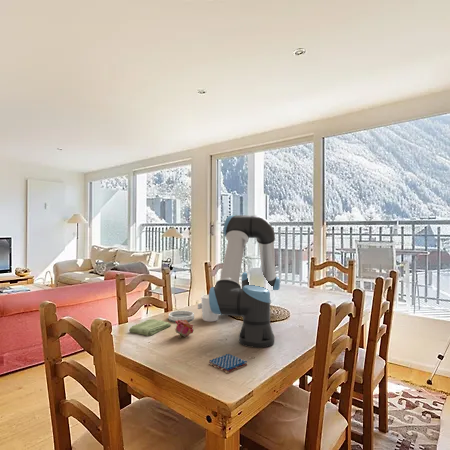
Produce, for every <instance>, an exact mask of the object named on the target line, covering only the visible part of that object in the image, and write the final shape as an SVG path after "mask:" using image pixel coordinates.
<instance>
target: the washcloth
mask: <svg viewBox="0 0 450 450" xmlns="http://www.w3.org/2000/svg"><path fill="white" fill-rule="evenodd" d="M170 326H172V324H171V323H170V322H168V321H164V320H161V319H159V320H157V319H155V318H151V319H146V320H145V321H142V322H140V323H138V324H137V323H136V324H135V325H132V326H131V327H130V328H129V333H133V334H136V335H137V334H138V335H143V336H147V337H149V336H153V335H155V334H157V333H159V332H162V331H163V330H165V329H166V328H170Z"/></svg>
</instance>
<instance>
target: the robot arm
mask: <svg viewBox="0 0 450 450" xmlns="http://www.w3.org/2000/svg"><path fill="white" fill-rule="evenodd" d="M223 235H224V237H225V238H226V240H227V244H226V249H225V254H224V260H223V263H222V268H221V269H222V270H221V273H220V279H218V280H217V281H216V282H215V285H214V286H211V287H210V288H209V292H208V295H209V304H210V307H209V313H212V312H213V313H214V314H219V315H220V316H235V317H242V325H241V328H240V331H239V334H238V342H239V344H241V345H243V346H245V347H248V348H257V349H258V348H268V347H271V346H273V345H274V344H275V335H274V332H273V329H272V325H271V302H272V300H271V292H270V290H268V289H266V288H264V287H260V286H255V285H249V282H248V278H247V273H246V272H247V271H244V272H242V273H241V270H242V263H243V257H244V251H245V246H246V244H247V243H248V242H249V239H256V242H257V243H258V247H259V257H260V265H261V273H262V272H263V275H264V277H265V278H266V280H267V281H268V283H269V284H270V285H271V286H273V290H272V291H280V288H281V279H280V277H279V276H277V274H276V273H277V272H276V261H275V260H276V259H275V246H274V243H275V240H276V237H275V236H276V235H275V230H274V228H273V227H272V224H271V223H270V222H269V221H268V220H267V219H266V218H265V217H263V216H262V215H258V214H254V215H252V214H251V215H249V214H248V215H247V214H239V215H238V214H234V215H228V216H227V217H226V218H225V220H224V223H223ZM240 276H241V284H240V283H239V282H240ZM197 309H198V310H202V302H201V303H197Z"/></svg>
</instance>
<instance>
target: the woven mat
mask: <svg viewBox="0 0 450 450" xmlns="http://www.w3.org/2000/svg"><path fill="white" fill-rule="evenodd" d="M208 364H210V365H209V366H211V367H212V365H213V366H214V368H215V367H216V369H218V368H219V370H220V369H221V370H220V371H222V372H224V371H225V373H226V374H228V373H231V372H233V371H235V370H238V369H240V368H243V367H245V366H247V365H248V361H246V360H245V359H242V358H240V357H237V356H236V355H234V354H230V353H228V354H227V353H226V354H225V355H224V354H223V355H220V356H219V357H216V358H212V359H209V361H208Z"/></svg>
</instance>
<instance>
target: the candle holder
mask: <svg viewBox="0 0 450 450" xmlns="http://www.w3.org/2000/svg"><path fill="white" fill-rule="evenodd" d="M200 296H201V297H200V298H201V299H200V300H201V303H202V309H201V313H202V314H201V316H202V320H203V321H204V322H216V321H219V316H220V314H214V313H213V312H212V313H209V307H210V304H209V294H203V295H200Z"/></svg>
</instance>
